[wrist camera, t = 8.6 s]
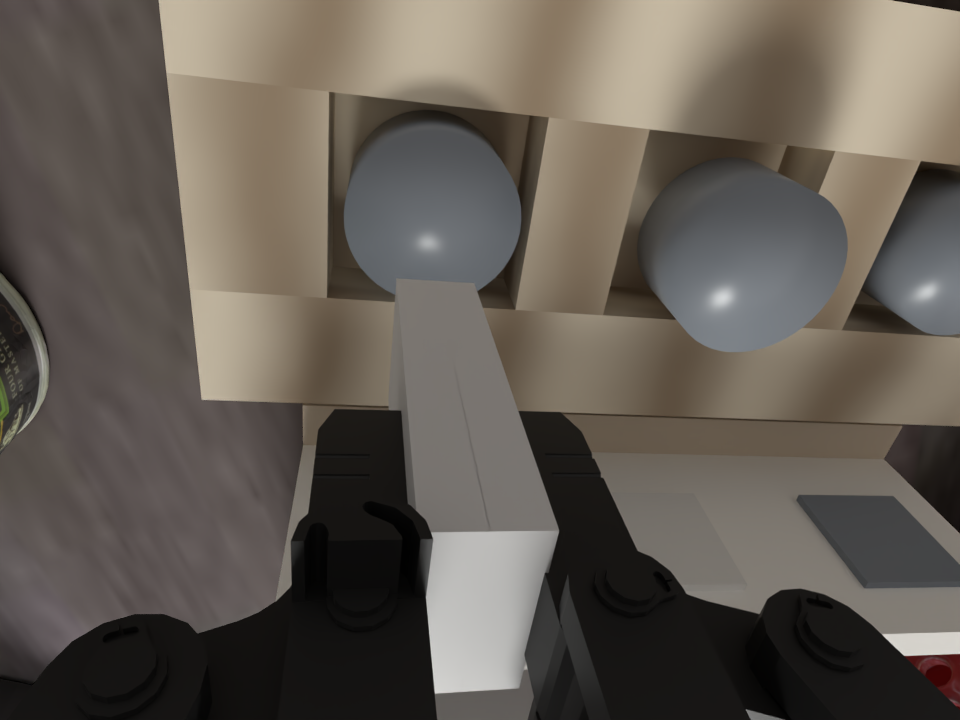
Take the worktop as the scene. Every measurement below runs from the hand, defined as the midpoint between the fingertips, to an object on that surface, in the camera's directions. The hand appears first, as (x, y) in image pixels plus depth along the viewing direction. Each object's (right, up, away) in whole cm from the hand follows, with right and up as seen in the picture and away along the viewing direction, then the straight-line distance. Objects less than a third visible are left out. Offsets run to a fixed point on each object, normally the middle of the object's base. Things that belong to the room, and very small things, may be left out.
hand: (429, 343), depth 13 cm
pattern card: (+7, -4, +16) cm, 18 cm away
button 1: (+17, +4, +11) cm, 21 cm away
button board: (+8, +5, +10) cm, 14 cm away
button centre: (+8, +4, +8) cm, 12 cm away
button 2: (-1, +5, +8) cm, 9 cm away
